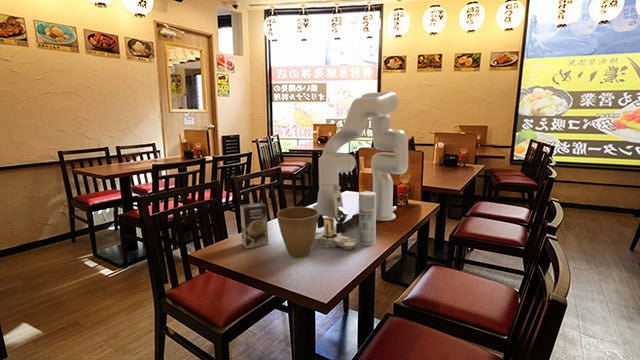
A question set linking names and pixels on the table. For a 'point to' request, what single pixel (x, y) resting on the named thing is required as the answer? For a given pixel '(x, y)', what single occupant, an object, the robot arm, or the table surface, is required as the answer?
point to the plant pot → (298, 229)
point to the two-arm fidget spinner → (335, 241)
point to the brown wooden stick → (351, 222)
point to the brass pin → (329, 227)
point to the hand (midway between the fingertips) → (329, 230)
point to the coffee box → (254, 224)
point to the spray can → (367, 217)
